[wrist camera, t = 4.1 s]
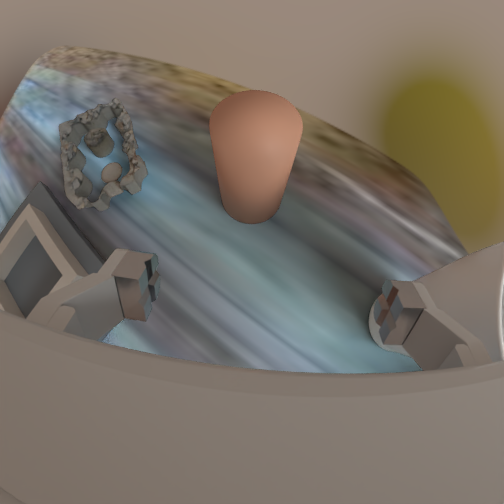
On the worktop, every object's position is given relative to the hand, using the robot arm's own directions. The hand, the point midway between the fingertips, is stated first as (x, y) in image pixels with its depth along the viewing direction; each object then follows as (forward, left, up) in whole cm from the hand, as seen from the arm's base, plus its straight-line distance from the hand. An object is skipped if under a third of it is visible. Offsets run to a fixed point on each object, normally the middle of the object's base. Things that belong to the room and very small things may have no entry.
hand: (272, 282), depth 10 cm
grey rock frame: (0, +19, -13) cm, 23 cm away
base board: (-12, +15, -13) cm, 23 cm away
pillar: (+6, +6, -13) cm, 15 cm away
